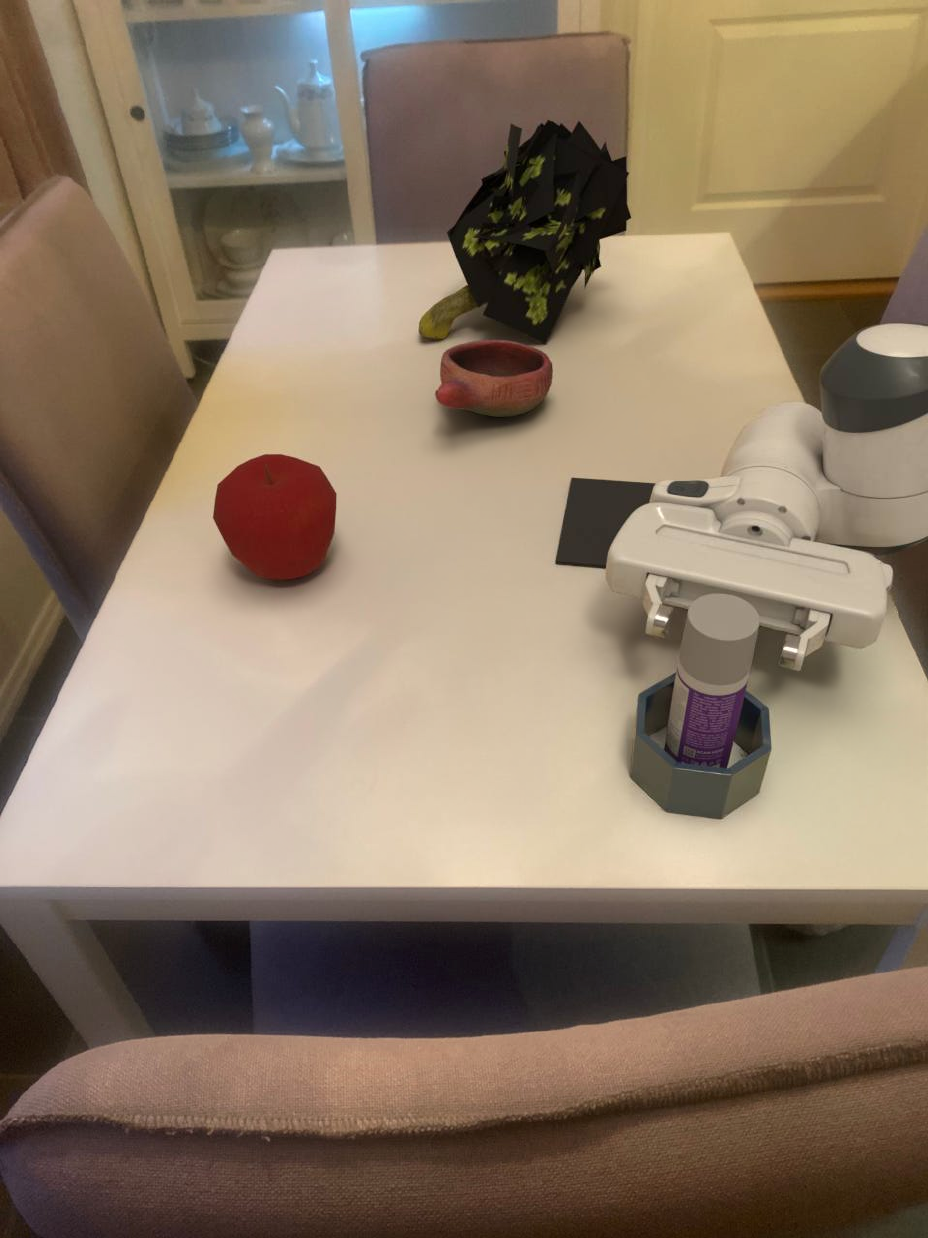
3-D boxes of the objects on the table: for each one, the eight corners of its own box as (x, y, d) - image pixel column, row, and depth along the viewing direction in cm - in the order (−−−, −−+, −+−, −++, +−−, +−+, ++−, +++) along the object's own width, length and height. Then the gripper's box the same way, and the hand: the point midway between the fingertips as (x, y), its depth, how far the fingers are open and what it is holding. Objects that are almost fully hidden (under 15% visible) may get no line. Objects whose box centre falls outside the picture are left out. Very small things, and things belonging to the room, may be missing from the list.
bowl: (448, 382, 113) (444, 320, 107) (552, 382, 112) (554, 319, 106) (434, 453, 101) (429, 388, 96) (551, 454, 100) (552, 388, 94)
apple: (225, 610, 83) (194, 505, 75) (237, 538, 91) (210, 437, 83) (346, 599, 84) (327, 493, 76) (347, 529, 91) (331, 427, 84)
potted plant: (459, 383, 115) (587, 153, 98) (371, 280, 125) (473, 53, 107) (566, 391, 130) (693, 193, 113) (480, 299, 140) (585, 103, 122)
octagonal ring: (755, 725, 70) (767, 680, 67) (760, 824, 64) (773, 780, 60) (635, 711, 72) (640, 667, 69) (627, 807, 65) (633, 763, 62)
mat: (789, 495, 92) (790, 492, 92) (799, 585, 82) (800, 581, 82) (571, 480, 96) (571, 477, 96) (555, 564, 86) (555, 560, 86)
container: (738, 762, 68) (776, 613, 58) (703, 801, 65) (736, 653, 55) (685, 730, 70) (711, 582, 60) (649, 767, 68) (671, 618, 58)
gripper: (884, 591, 72) (867, 714, 63) (631, 538, 79) (582, 642, 70) (906, 527, 68) (891, 649, 59) (637, 476, 75) (586, 579, 65)
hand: (721, 645), depth 64 cm, fingers open, 8 cm apart
